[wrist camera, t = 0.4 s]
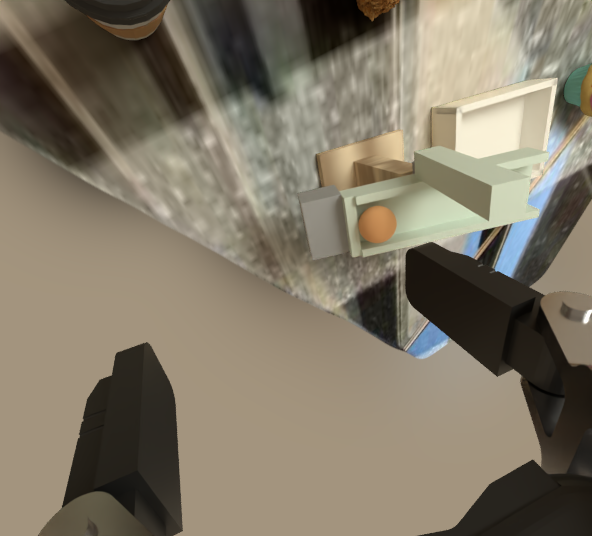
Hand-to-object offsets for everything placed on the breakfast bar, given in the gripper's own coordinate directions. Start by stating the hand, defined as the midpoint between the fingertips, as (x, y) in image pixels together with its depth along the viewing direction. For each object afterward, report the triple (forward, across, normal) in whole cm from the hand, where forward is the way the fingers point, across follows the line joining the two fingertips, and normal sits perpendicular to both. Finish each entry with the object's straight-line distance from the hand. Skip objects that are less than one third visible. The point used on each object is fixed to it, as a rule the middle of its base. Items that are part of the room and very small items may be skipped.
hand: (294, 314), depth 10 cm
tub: (+32, +40, -7) cm, 52 cm away
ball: (+18, +14, -8) cm, 24 cm away
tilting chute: (+22, +20, -7) cm, 31 cm away
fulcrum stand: (+32, +20, -8) cm, 39 cm away
